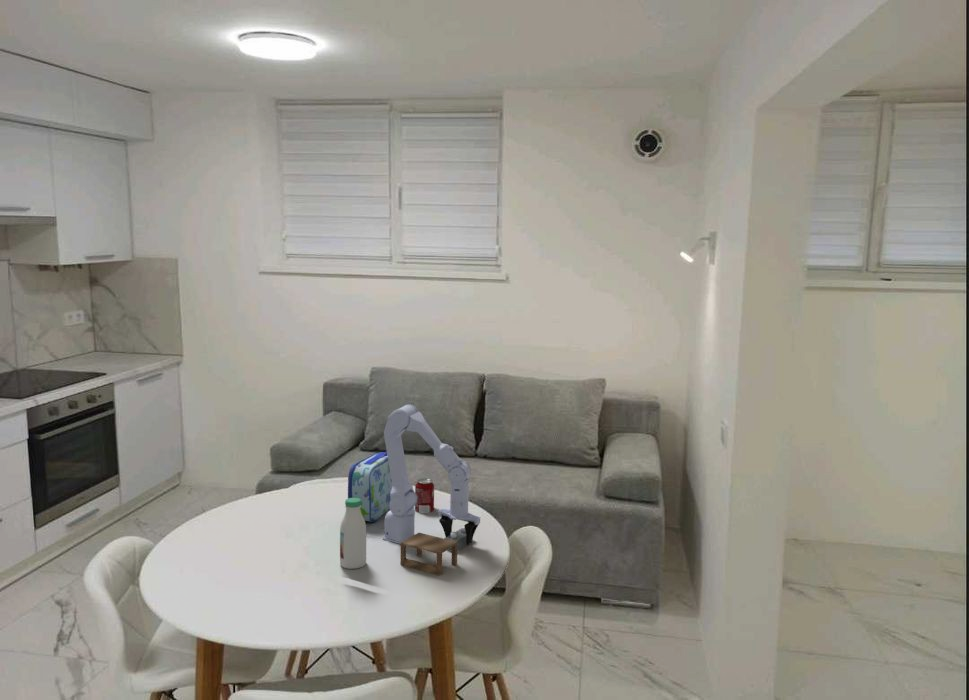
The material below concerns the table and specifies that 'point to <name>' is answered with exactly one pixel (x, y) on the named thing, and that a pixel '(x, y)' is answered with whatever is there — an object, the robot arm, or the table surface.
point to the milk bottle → (353, 536)
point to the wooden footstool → (429, 545)
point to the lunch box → (371, 485)
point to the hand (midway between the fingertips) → (458, 541)
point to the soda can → (424, 495)
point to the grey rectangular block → (458, 538)
